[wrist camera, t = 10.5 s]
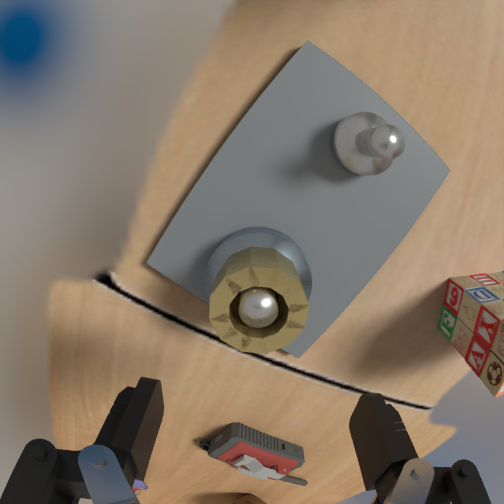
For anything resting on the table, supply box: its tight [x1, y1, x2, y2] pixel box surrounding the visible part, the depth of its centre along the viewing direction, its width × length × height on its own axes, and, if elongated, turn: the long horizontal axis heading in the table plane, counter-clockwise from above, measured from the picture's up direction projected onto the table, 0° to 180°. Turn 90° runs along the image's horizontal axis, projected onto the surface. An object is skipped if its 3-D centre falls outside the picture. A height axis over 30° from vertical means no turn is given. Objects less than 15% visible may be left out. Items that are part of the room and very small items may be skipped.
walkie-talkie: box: [199, 423, 308, 486], centre depth 31 cm, size 9×4×20 cm
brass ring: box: [209, 246, 310, 354], centre depth 20 cm, size 6×6×4 cm
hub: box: [203, 227, 312, 328], centre depth 21 cm, size 8×8×6 cm
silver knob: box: [330, 112, 405, 176], centre depth 17 cm, size 5×5×6 cm
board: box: [147, 40, 450, 358], centre depth 22 cm, size 22×16×1 cm
